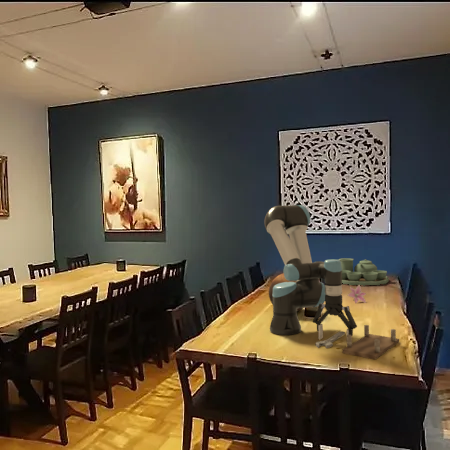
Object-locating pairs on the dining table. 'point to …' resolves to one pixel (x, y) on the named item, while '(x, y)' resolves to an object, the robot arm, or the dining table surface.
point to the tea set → (362, 273)
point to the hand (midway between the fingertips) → (334, 341)
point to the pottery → (278, 280)
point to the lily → (357, 294)
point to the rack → (370, 344)
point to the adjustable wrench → (330, 340)
